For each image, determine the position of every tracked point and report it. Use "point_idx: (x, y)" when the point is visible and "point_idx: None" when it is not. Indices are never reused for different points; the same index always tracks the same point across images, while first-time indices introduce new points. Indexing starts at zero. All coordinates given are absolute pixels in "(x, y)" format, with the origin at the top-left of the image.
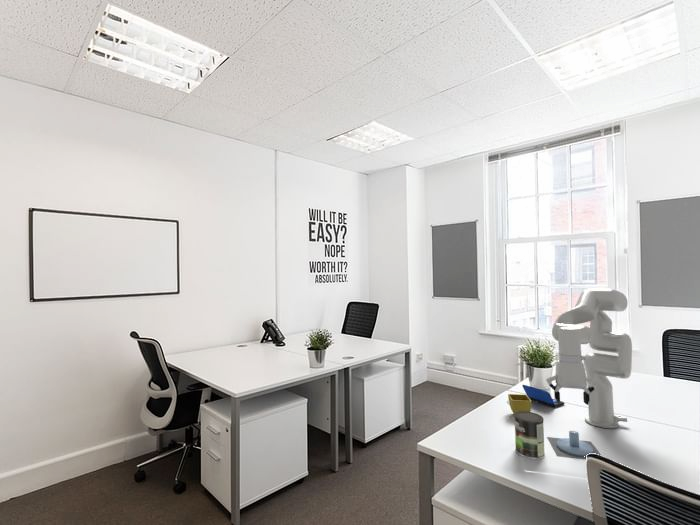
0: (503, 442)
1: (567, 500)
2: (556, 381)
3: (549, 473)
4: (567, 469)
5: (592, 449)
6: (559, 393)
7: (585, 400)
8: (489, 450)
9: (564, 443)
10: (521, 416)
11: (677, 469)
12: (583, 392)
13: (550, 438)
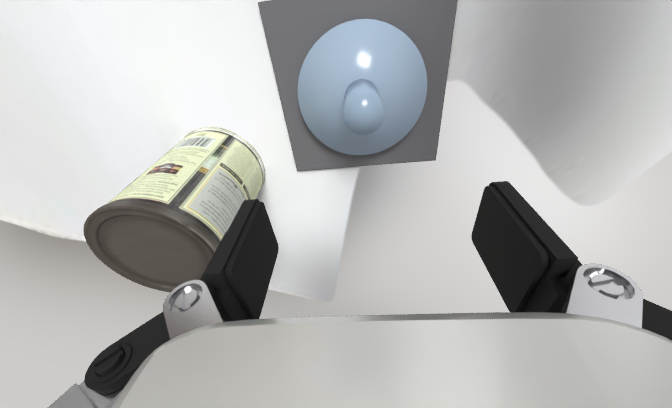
0: (126, 123)
1: (308, 297)
2: (138, 376)
3: (280, 243)
4: (319, 219)
5: (420, 111)
6: (257, 313)
7: (486, 247)
8: (122, 188)
9: (326, 93)
10: (131, 260)
11: (653, 129)
12: (540, 263)
13: (274, 17)
